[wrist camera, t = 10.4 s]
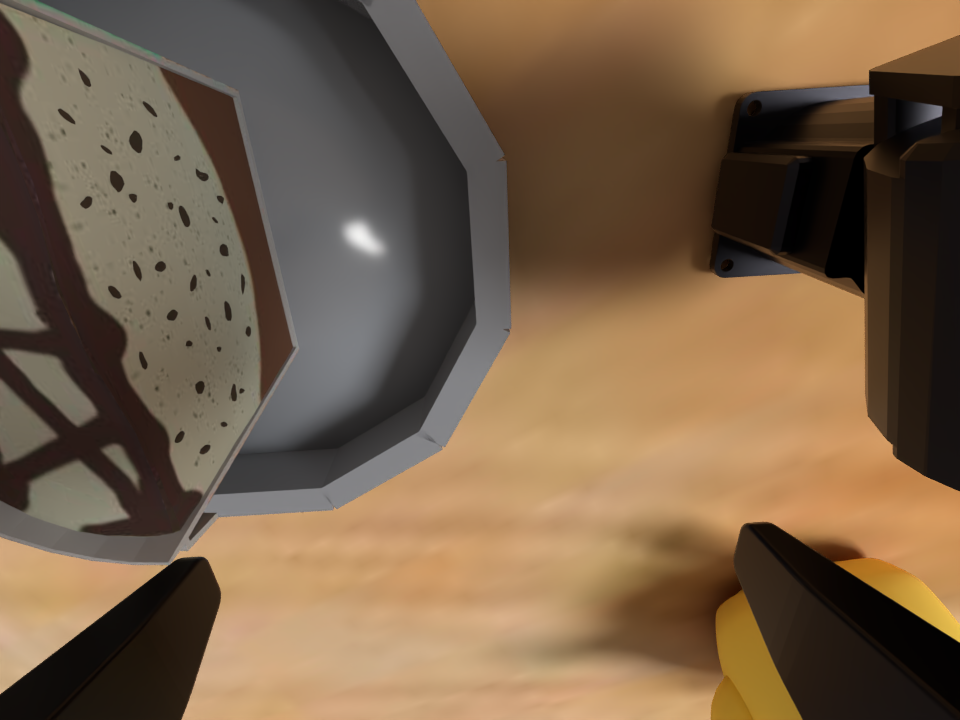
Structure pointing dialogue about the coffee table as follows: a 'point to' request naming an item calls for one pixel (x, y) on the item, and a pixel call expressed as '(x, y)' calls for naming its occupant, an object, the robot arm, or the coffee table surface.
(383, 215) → the bowl
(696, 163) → the coffee table surface
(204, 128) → the food container
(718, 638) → the teapot
